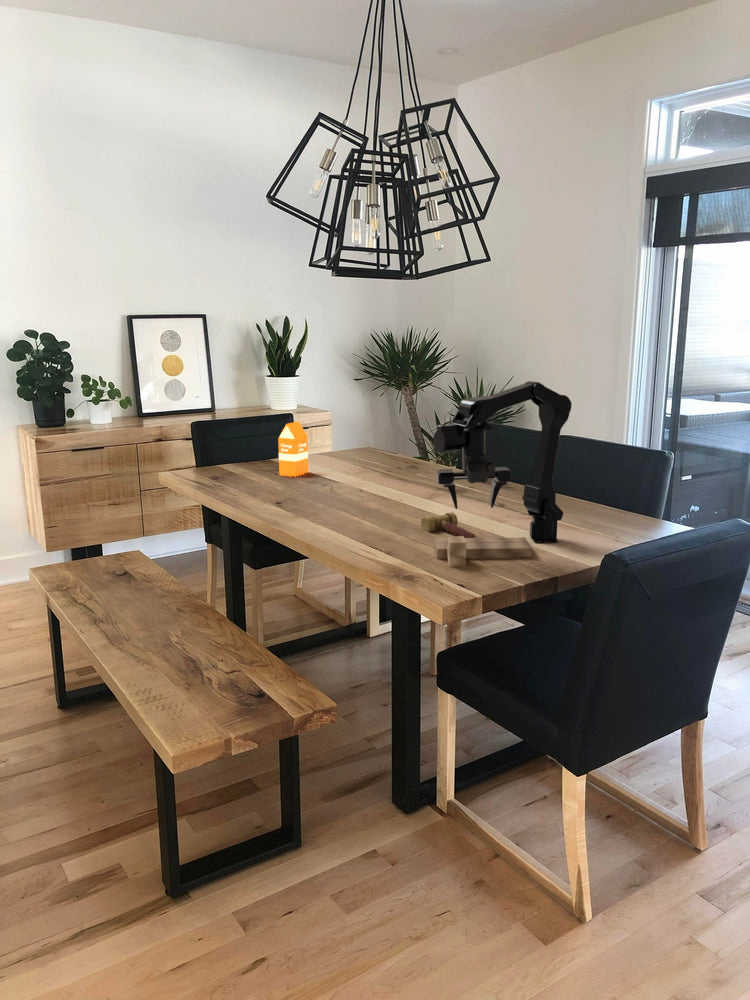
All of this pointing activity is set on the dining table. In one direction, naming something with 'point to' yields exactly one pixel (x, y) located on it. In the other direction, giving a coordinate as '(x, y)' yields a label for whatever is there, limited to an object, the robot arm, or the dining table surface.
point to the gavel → (445, 525)
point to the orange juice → (293, 450)
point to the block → (456, 551)
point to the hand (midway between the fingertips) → (474, 508)
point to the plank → (488, 547)
